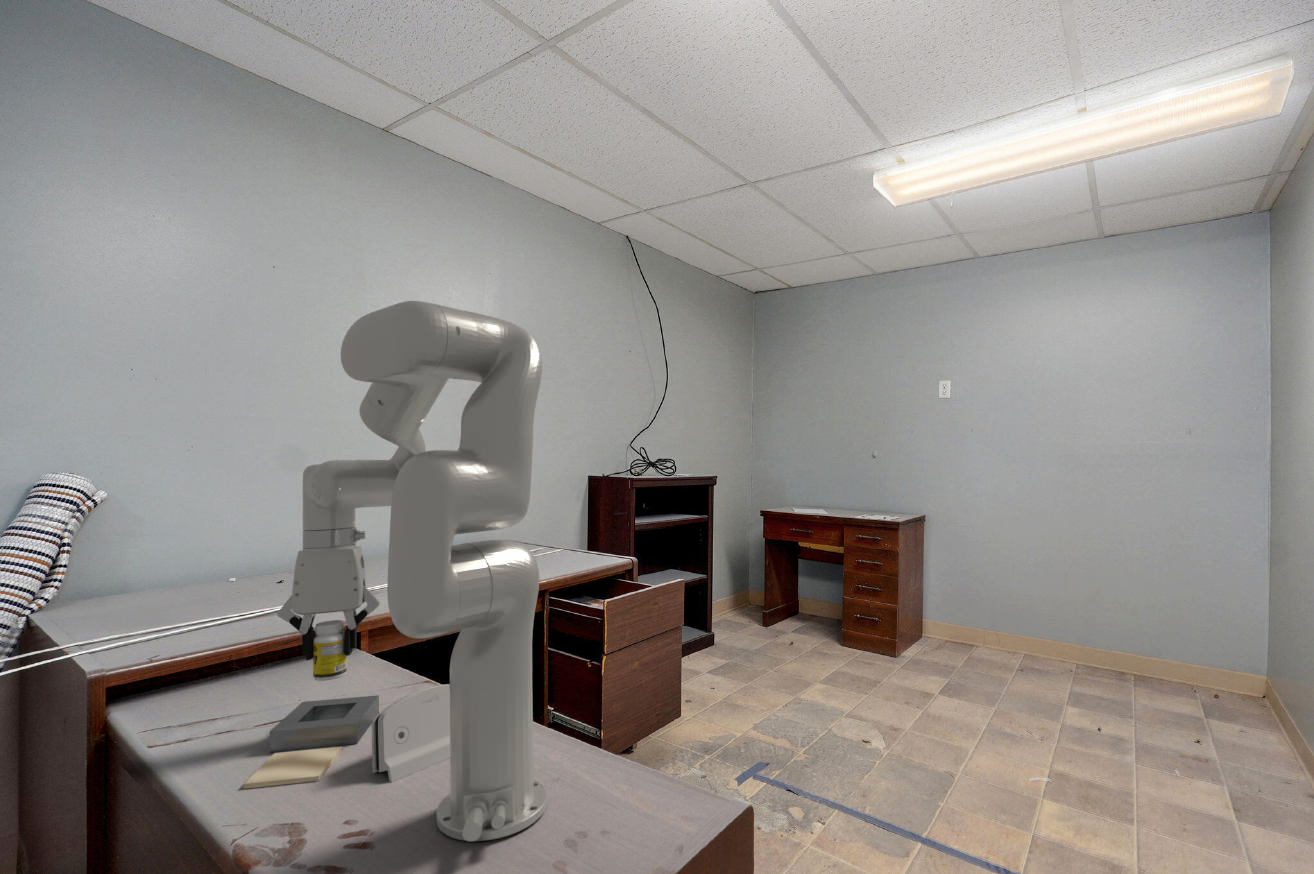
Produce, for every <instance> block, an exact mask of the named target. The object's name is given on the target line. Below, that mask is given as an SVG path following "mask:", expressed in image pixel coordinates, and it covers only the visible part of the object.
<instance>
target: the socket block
mask: <svg viewBox="0 0 1314 874" xmlns="http://www.w3.org/2000/svg"><path fill="white" fill-rule="evenodd" d="M379 713H380V695H369V696H368V695H367V696H358V697H357V696H356V697H345V698H334V699H333V698H332V699H321V700H319V699H318V700H311V701H310V700H308V701H302V702H301V703H300V704H298V705H297V706H296V707H295V708H294V709H293V710H292V711H291V712H290V713H288V714H287V715H286V716H285V717H284V718H283V719H282V720H281V721H280V722H278V724H276V725H275V726H274V727H273V728H271V730H269V753H280V752H290V751H300V750H310V749H320V748H330V747H340V746H347V745H358V744H359V743H358V742H360V741H361V740H362V737H363V736H364V735H365V733H366V732H367V730H368V729H369V728H370V727H371V726H372V720H373V719H374V717H375V716H376V715H377V714H379Z"/></svg>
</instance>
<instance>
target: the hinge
mask: <svg viewBox="0 0 1314 874" xmlns="http://www.w3.org/2000/svg"><path fill="white" fill-rule="evenodd" d="M371 751H372V754H371V756H372V758H371V760H372V772H373V774H376V773H382V772H386V771H387V774H388V782H390V783H392V782H395V781H398V780H400V779H403V778H405V777H407V776H411V775H413V774H414V773H417V772H419V771H423V770H425V769H426V768H429V767H431V766H434V765H436V764H438V763H440V762H443V761H446V760H448V759H450V683H449V684H448V683H447V684H439V685H435V686H431V687H426V688H424V689H421V690H418V691H417V690H416V691H415V692H411V693H409V694H407V695H405V696H404V697H401V698H400V699H398V700H397V701H394V702H392V703H391V704H390V705H388V706H387V707H385V708H384V709H382V710H381V711H379V714H377V715H376V716H375V717H374V719H373V720H372V724H371Z"/></svg>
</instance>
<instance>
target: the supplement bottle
mask: <svg viewBox="0 0 1314 874" xmlns="http://www.w3.org/2000/svg"><path fill="white" fill-rule="evenodd" d="M344 629H345V622H344V620H341V619H339V620H338V619H336V620H335V619H334V620H326V621H320V622H318V623H316V624H315V628H314V630H315V632H316V637H315V638H314V639H313V658H312V663H313V664H312V667H313V668H312V669H313V670H312V677H313V679H314V680H315V681H317V682H319V681H320V682H325V681H331V680H337V679H340V678H342V677H344V676H345V675H346V674H347V672H348V671H347V670H348V669H347V666H348V665H347V660H348V659H347V657H348V656H346V655H344V631H345V630H344Z"/></svg>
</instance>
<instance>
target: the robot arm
mask: <svg viewBox="0 0 1314 874" xmlns="http://www.w3.org/2000/svg"><path fill="white" fill-rule="evenodd" d="M542 359H543V358H542V355H541V350H540V348H539V345H538V343H537V341H536V339H535V338H534V337H533V336H532V335H531V333H529V332H528V331H527V330H526V329H525V328H522V327H521V326H520V325H517V324H515V323H512V322H510V321H507V320H504V319H501V318H497V317H493V316H490V315H486V314H482V313H477V312H473V311H468V310H462V309H458V308H453V307H451V306H445V305H441V304H436V303H432V302H427V301H419V300H406V301H401V302H398V303H395V304H392V305H389V306H386V307H384V308H383V307H382V308H381V309H380V308H379V309H377V310H375V311H372V312H369V313H367V314H365V315H363V316H361V317H360V318H358V319H357V320H356V321H354V323H353V324H351V326H350V327H349V329H348V330H347V332H346V333H345V335H344V337H343V340H342V343H341V347H340V362H341V366H342V368H343V370H344V372H345V374H347V376H349V378H352V379H353V380H355V381H359V382H364V383H365V382H366V383H371V384H370V386H369V388H368V390H367V392H366V393H365V395H364V397H363V398H362V401H361V403H360V405H359V411H358V413H359V417H360V419H361V421H362V422H363V424H364V425H365V426H366V427H367V429H369V430H370V431H371V432H372V433H373V434H375V435H377V436H378V437H380V438H382V439H384V440H386V441H387V442H389V443H392V444H394V445H395V446H397V449H396V451H394V454H393V455H392V457H390V459H339V460H338V459H334V460H327V461H323V462H322V463H318V464H315V463H314V464H310V465H308V466H307V467H305V468H304V470H303V473H302V550H298V552H297V555H296V561H295V563H294V564H295V566H294V572H293V580H292V582H293V583H292V588H291V589H292V591H291V595H290V596H289V598H288V599H287V600H286V602H284V604H283V605H282V607H280V609H279V610H278V611H277V616H278V618H279V619H280V618H281V619H282V620H284V621H285V622H288V624H290V625H291V626H292V627H293V628H295V629H296V630H297V631H298V632H299V634H300V635H301V637H302V638H301V639H302V641H301V645H302V647H301V649H302V650H301V651H302V652H301V653H302V654H303V655H305V660H306V661H311V660H313V639H314V638H315V637H316V636H317V634H316V632H315V629H314V626H313V625H314V622H315V617H316V616H317V615H318V614H331V613H340V612H342V613H343V615H344V618H345V622H346V629H345V630H343V632H344V655H346V656H347V657H348V656H350V655H351V654H352V653H353V652H354V651H353V650H354V649H356V648H357V645H358V644H357V642H358V639H357V637H358V636H357V633H358V632H357V629H358V628H357V627H358V625H359V624H360V623H361V622H362V621H364V620H365V618H366V617H368V615H371V613H373V611H375V610H376V609H377V608H378V607H379V606H380V603H381V602H380V601H379V600H378V598H376V596H375V595H374V594H373V593H372V591H370V590H369V589H368V588H367V581H366V580H367V579H366V578H367V577H366V567H365V560H364V555H363V554H364V553H363V548H362V546H359V545H356V544H357V542H359V541H360V540H365V539H366V531H365V530H363V531H362V530H358V529H357V527H356V509H360V508H362V509H363V508H377V507H379V508H381V507H390V521H389V522H390V523H389V524H390V525H389V526H390V527H389V539H388V540H389V543H388V547H389V548H388V562H387V585H386V587H387V591H386V592H387V593H386V594H387V605H388V611H389V615H390V617H391V621H392V622H393V624H394V627H395V628H396V629H397V630H398V631H399V632H400V633H401V634H402V635H404V636H406V637H407V638H408V637H409V638H413V639H427V638H433V637H434V638H435V637H436V636H437V637H438V636H441V635H445V634H449V633H453V632H458V631H460V632H459V634H458V636H457V639H456V640H455V643H454V645H453V646H454V647H453V649H452V653H451V657H450V662H449V665H450V666H449V684H450V758H449V759H450V760H449V768H450V769H449V772H450V773H449V774H450V775H449V777H450V780H449V781H450V783H449V784H450V792H449V793H448V794H447V795H445V797H443V798H442V800H441V801H440V803H439V804H438V805H437V808H436V810H435V812H436V814H435V815H436V819H435V821H436V825H437V828H438V829H439V831H440V832H442V833H443V834H444V835H446V836H447V837H450V838H453V839H455V840H460V841H466V842H483V841H484V842H485V841H491V840H497V839H502V838H504V837H509V836H511V835H514V834H516V833H519V832H520V831H522V830H525V829H526V828H527V829H528V827H530V826H531V825H533V824H534V823H536V821H538V819H540V818H541V817H542V815H543V814H544V812H545V811H546V808H547V805H548V793H547V789H546V787H545V786H544V784H542V783H541V782H539V780H536V779H535V776H534V772H535V771H534V769H535V768H534V717H533V715H534V713H533V709H534V708H533V706H534V705H533V631H534V620H535V612H536V607H537V601H538V595H539V589H540V570H539V566H538V562H537V560H536V558H535V556H534V555H533V553H532V552H531V551H530V549H528V548H527V547H526V546H524V545H523V544H522V543H519V542H516V541H514V540H509V539H490V540H482V541H471V542H465V543H464V542H463V543H460V544H454V545H453V542H454V539H455V535H462V534H463V535H464V534H471V533H473V534H474V533H481V532H482V533H483V532H490V531H497V530H503V529H507V528H511V527H513V526H516V525H518V524H519V523H521V521H523V519H525V517H526V515H527V513H528V510H529V506H530V499H531V498H530V497H531V487H532V472H533V471H532V466H533V465H532V464H533V451H534V450H533V448H534V446H533V445H534V423H535V422H534V419H535V412H536V406H537V400H538V397H539V396H538V395H539V391H540V387H541V381H542V374H543V361H542ZM449 379H453V380H462V381H463V380H465V381H469V382H470V381H471V382H478V383H480V384H479V385H478V387H476V388H475V390H474V391H473V392H472V394H471V395H470V396H469V398H468V400H467V402H466V404H465V406H464V408H463V410H462V414H461V422H460V437H459V439H460V440H459V446H458V447H459V448H457V450H455V449H454V450H450V449H449V450H447V449H446V450H441V449H440V450H438V449H435V450H427V451H426V443H425V439H424V437H423V435H422V432H421V430H420V427H421V426H422V424H423V422H424V421H425V419H426V418H427V415H428V414H429V413H430V411H431V409H432V407H433V406H434V404H435V403H436V401H437V399H438V397H439V396H440V394H441V392H442V391H443V389H444V387H445V386H446V384H447V382H448V381H449ZM365 603H366V604H367V605H365V606H364V607H363V609H362V610H361V611H359V612H358V613H357V609H358V608H360V607H361V606H362V605H363V604H365ZM301 616H302V617H301Z"/></svg>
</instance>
